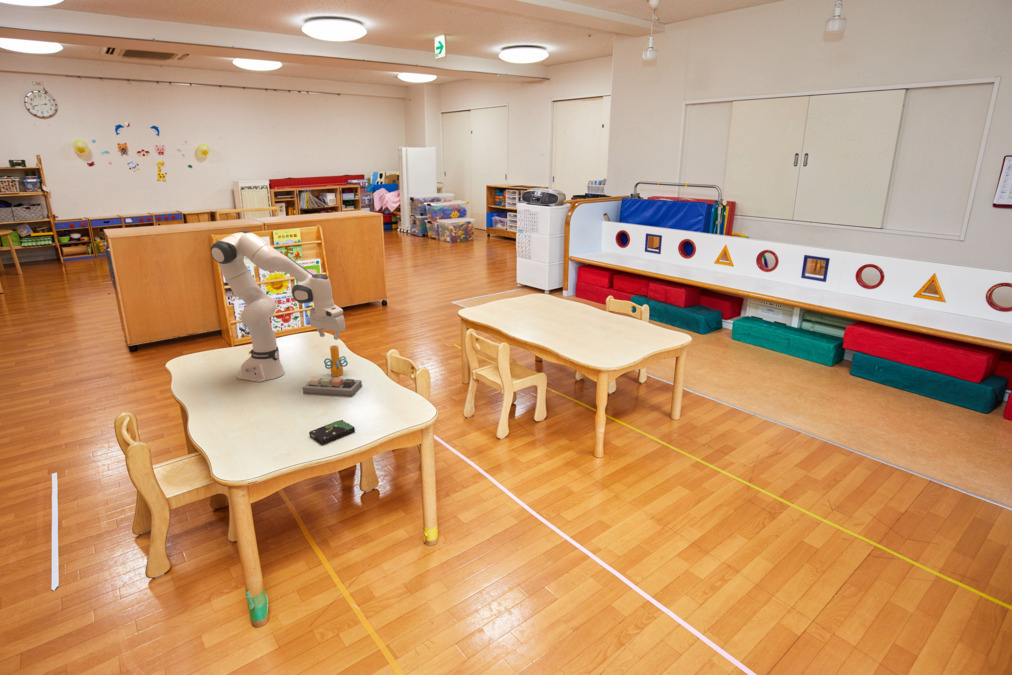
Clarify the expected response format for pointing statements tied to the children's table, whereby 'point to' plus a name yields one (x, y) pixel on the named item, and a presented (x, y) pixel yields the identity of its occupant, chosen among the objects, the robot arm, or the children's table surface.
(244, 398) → the children's table surface
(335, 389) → the keyboard
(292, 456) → the children's table surface
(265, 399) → the children's table surface
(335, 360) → the orange and blue toy
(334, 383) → the key terracotta
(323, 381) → the key sage
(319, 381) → the key white
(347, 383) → the key charcoal
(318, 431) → the disk drive
